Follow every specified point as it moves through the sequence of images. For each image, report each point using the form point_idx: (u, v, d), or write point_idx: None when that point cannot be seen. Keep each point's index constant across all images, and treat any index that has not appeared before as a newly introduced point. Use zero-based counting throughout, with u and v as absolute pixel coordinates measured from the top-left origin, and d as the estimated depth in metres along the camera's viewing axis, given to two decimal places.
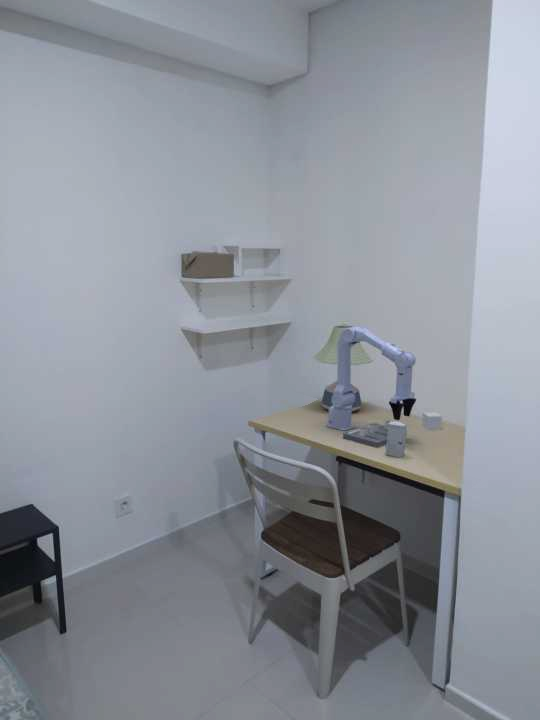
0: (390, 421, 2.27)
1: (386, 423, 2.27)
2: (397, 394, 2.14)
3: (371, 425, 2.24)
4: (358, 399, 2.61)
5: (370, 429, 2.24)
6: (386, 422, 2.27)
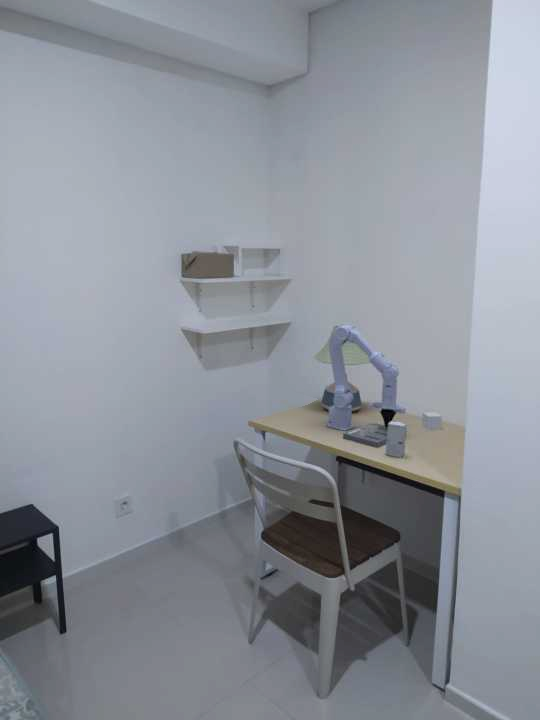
0: None
1: None
2: None
3: (371, 425, 2.24)
4: (358, 399, 2.61)
5: (370, 429, 2.24)
6: None
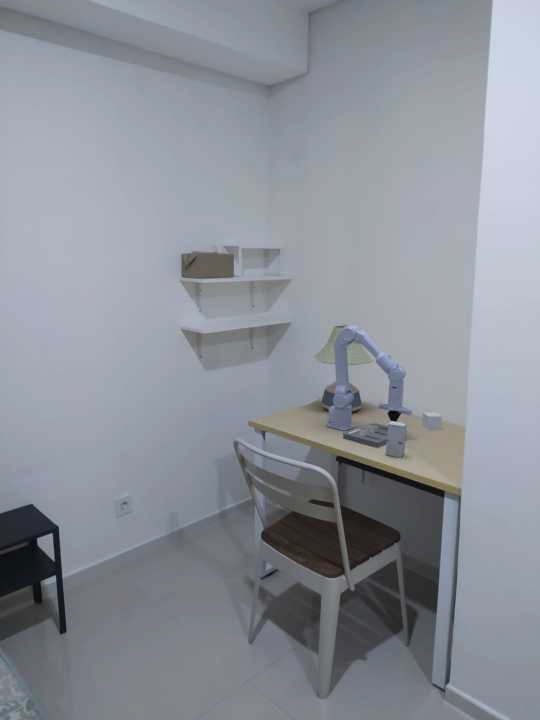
0: None
1: None
2: None
3: (371, 425, 2.24)
4: (358, 399, 2.61)
5: (370, 429, 2.24)
6: None
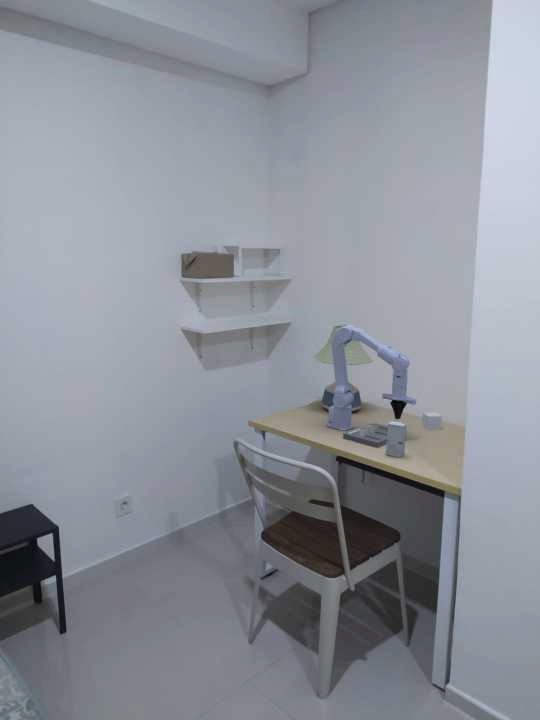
0: None
1: None
2: None
3: (371, 425, 2.24)
4: (358, 399, 2.61)
5: (370, 429, 2.24)
6: None
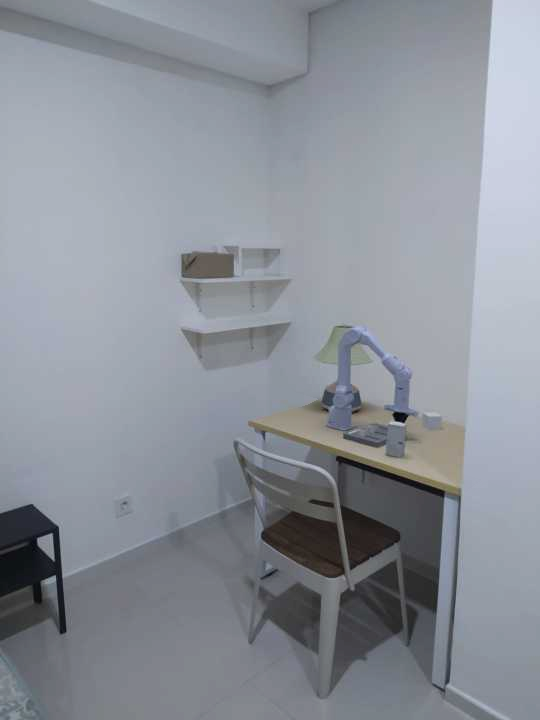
0: None
1: None
2: None
3: (371, 425, 2.24)
4: (358, 399, 2.61)
5: (370, 429, 2.24)
6: None
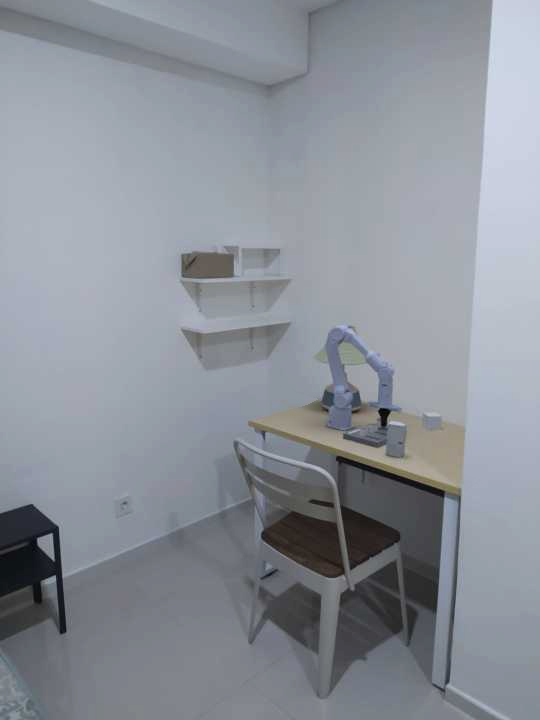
0: None
1: (378, 421, 2.29)
2: None
3: (371, 425, 2.24)
4: (358, 399, 2.61)
5: (370, 429, 2.24)
6: (378, 420, 2.29)
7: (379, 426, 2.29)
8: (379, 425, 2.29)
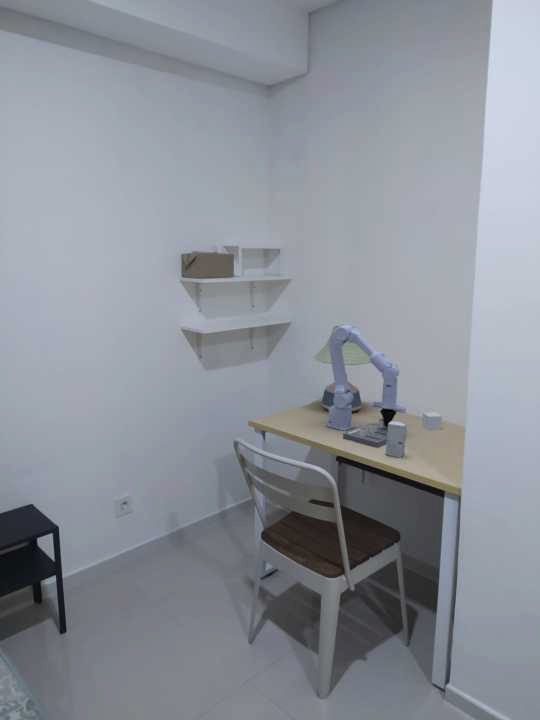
0: None
1: (380, 421, 2.29)
2: None
3: (371, 425, 2.24)
4: (358, 399, 2.61)
5: (370, 429, 2.24)
6: (380, 420, 2.29)
7: (381, 426, 2.29)
8: (381, 425, 2.29)
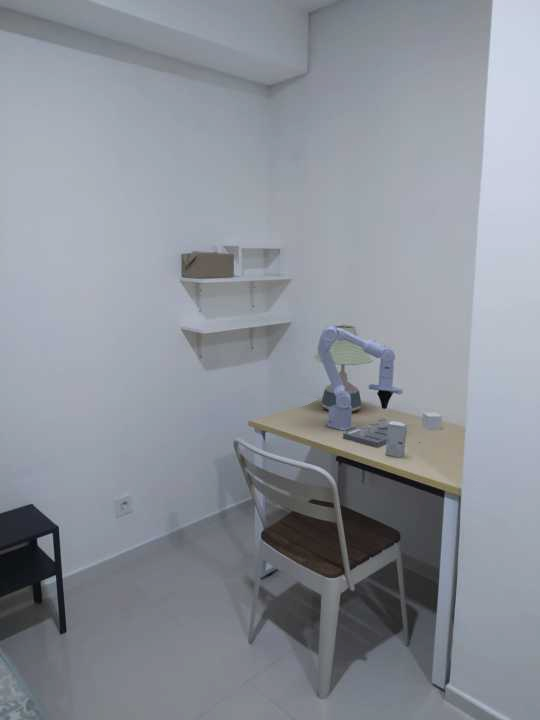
0: (384, 419, 2.29)
1: (380, 421, 2.29)
2: None
3: (371, 425, 2.24)
4: (358, 399, 2.61)
5: (370, 429, 2.24)
6: (380, 420, 2.29)
7: (381, 426, 2.29)
8: (381, 425, 2.29)
